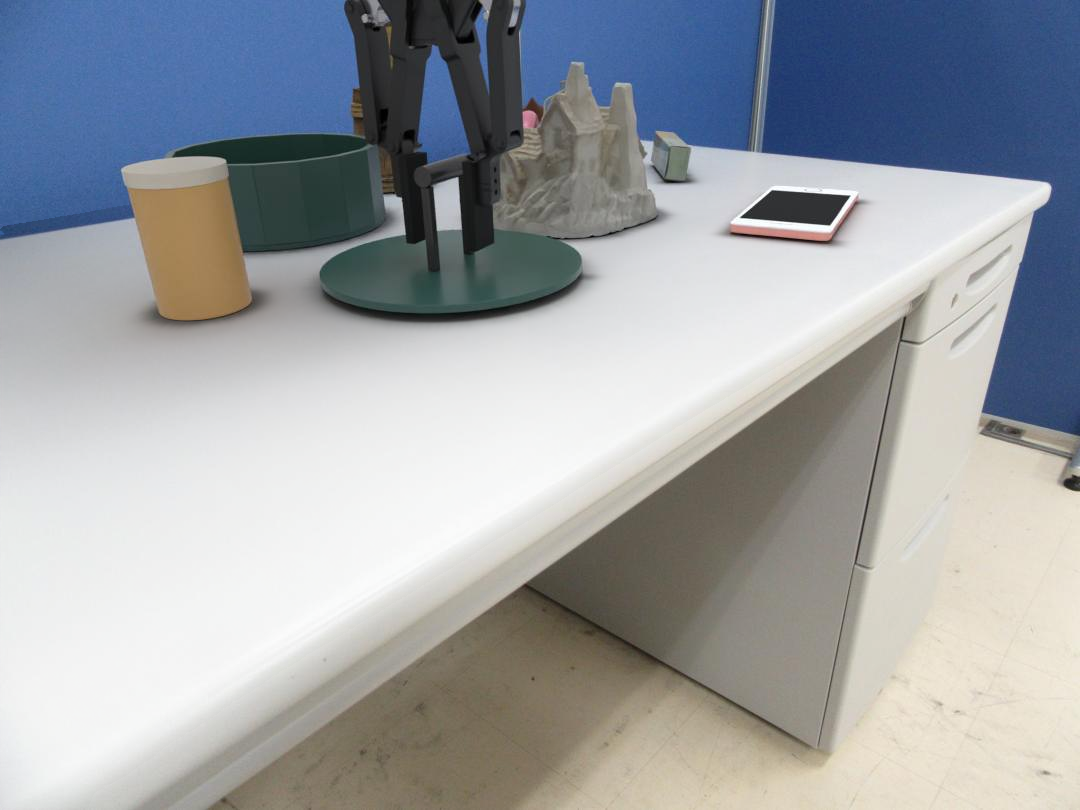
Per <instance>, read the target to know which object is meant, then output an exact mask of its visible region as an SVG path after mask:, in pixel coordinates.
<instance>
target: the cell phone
mask: <svg viewBox="0 0 1080 810" xmlns="http://www.w3.org/2000/svg"><path fill="white" fill-rule="evenodd" d="M859 195H860V192H859V191H858V190H849V189H833V188H820V187H819V188H818V187H806V186H805V187H803V186H791V185H790V186H789V185H773V186H771V187H770V188H768V189H767V190H766V191H765V192H763V193H762V194H761V195H760V196H759V197H757V199H755V201H753V202H752V203H751V204H750V205H748V206H747V207H746V208H745V209H743V211H741V212H740V213H739V214H738V215H737V216H735V218H733V219H732V220H731V221H730V223H729V224H730V225H729V231H730V232H731V233H735V234H745V235H746V234H747V235H756V236H765V237H766V236H767V237H775V238H777V237H778V238H785V239H786V238H788V239H797V240H809V241H819V242H823V241H824V242H825V241H826V242H827V241H829V240H831V239H832V237H833V236H834V234H835V233H836V231H837V230H838V228H839V227H840V225H841V224H842V222H843V221H844V220H845V218H846V217H847V215H848V213H849V212H850V210H851V209H852V208H853V207H854V206H855V203H856V202H857V201H858V200H859Z"/></svg>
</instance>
